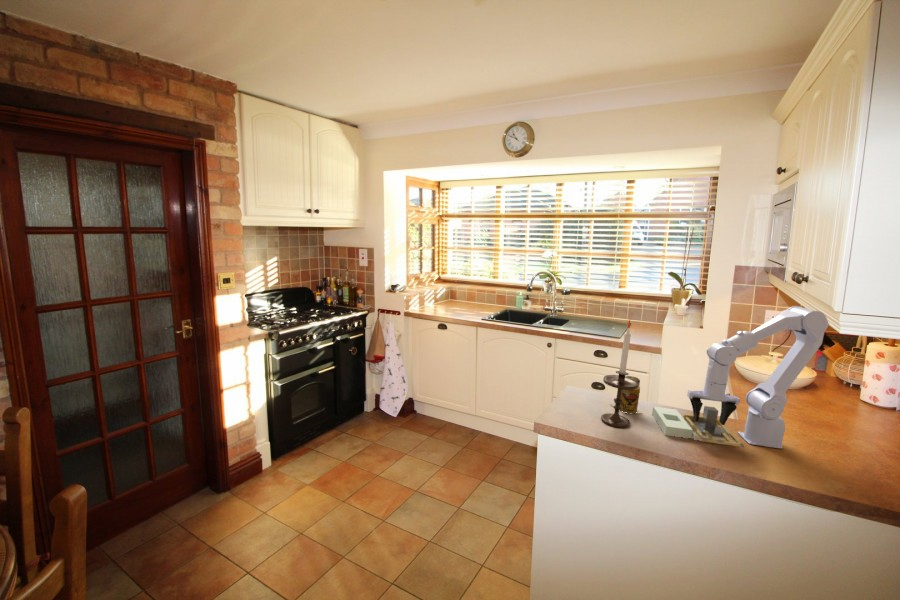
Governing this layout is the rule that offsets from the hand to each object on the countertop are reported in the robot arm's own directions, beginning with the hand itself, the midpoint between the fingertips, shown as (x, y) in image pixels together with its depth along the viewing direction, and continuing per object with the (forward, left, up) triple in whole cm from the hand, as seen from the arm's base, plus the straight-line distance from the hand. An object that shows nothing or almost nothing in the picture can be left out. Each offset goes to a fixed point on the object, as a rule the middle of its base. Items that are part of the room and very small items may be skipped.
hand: (708, 421), depth 137 cm
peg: (0, 0, -4) cm, 4 cm away
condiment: (+22, -13, -5) cm, 26 cm away
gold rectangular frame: (0, +3, -3) cm, 4 cm away
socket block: (0, 0, -4) cm, 4 cm away
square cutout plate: (+10, -3, -4) cm, 11 cm away
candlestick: (+28, 0, -5) cm, 28 cm away
